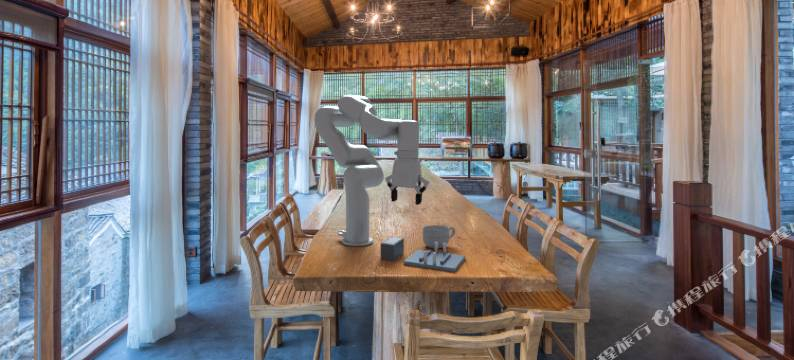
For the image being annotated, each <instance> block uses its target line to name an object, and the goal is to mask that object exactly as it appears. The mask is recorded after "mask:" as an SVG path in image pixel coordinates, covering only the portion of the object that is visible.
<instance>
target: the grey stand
mask: <svg viewBox="0 0 794 360" xmlns="http://www.w3.org/2000/svg"><path fill="white" fill-rule="evenodd" d="M465 260H466V255H464V254H463V255H462V254H456V253H454V254H453V253H451V252H447V245H446V243H443V248H442V252H440V251H439V248H438V242H435V248H434V251H433V250H429V249H427V250H426V249H417V250H416V251H415V252H413V253H412V254H411V255H409V256H408V257H406V259H405V260H404V261H403V265H404V264H407V265H406V266H411V265H413V267H418V266H420V267H419V268H425V267H427V268H426V269H431V268H433V270H438V269H440V271H445V270H446V271H445V272H454V273H455V272H456V271H457V270H458V269H459V268H460V266H461V265H462V263H463V262H464V261H465Z"/></svg>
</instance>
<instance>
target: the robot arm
mask: <svg viewBox="0 0 794 360" xmlns="http://www.w3.org/2000/svg"><path fill="white" fill-rule="evenodd" d="M313 118H314V119H313V120H314V126H315V129H316V132H317V134H318V135H319V137H320V139H322V141H323V142H324V144H325V145H326V147H327V149H328V150H329V152H330V153H331V156H332V157H333V159H334V160H335V162H336V164H337V165H338V166H339V167H340V168H344V169H345V170H344V172H343V175H342V178H343V186H344V191H345V230H341V229H339V230H338V231H337V236H338V237H342V239H341V242H342V244H343V245H345V246H350V247H365V246H369V245H372V244H373V243H374V239H373V238H372V237H370V197H369V196H370V195H369V193H368V191H367V190H366V189H368V188H376V187H378V186H380V185H382V184H383V182H384V178H385V182H386V186H387V187H388V188H389V190H390V192H391V193H390V199H391V202H393V203H394V202H397V201H398V188H406V189H414V190H415V191H416V194H415V200H414V201H415V202H414V203H415V205H416V206H418V205H421V204H422V201H423V193H424V192H426V190H427V189H428V186H429V185H430V181H429V180H427V179H426V178H425V177H422V165H421V160H420V159H419V146H420V145H419V144H420V123H419V121H417V120H413V119H412V120H411V119H410V120H408V119H407V120H405V119H404V120H402V119H393V118H380V117H378V116H377V110H376V108H375V106H373V105H372V101H371V100H370V99H369V98H368V97H366V96H363V95H354V94H346V95H343V96H341V97H340V98H339V100H338V101H337V106H330V105H329V106H328V105H327V106H322V107H320V108H318V109H316V112H315V114H314V117H313ZM357 123H358V124H359V126H360V128H361V131H363V133H365V134H366V135H368V136H370V137H372V138H373V139H375V140H378V141H397V149H396V150H395V151H394V155H395V156H396V158H394V162H393V165H392V172H391V175H390V174H389V175H388V176H387V177H384V176H385V174H384V171H383V169H382V167H381V165H380V164H379V162H378V161H377V158H376V157H375V155H374V153H373V152H372V150H371V149H369V148H368V147H367V145H364V144H352V143H350V142H349V140H348V139H347V137H346V136H345V135H344V133H343V132H342V131H340V130H339V129H338V128H349V127H352V126H354V125H355V124H357ZM422 183H423V185H422ZM421 185H422V186H421Z"/></svg>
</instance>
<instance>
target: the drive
mask: <svg viewBox="0 0 794 360" xmlns="http://www.w3.org/2000/svg"><path fill="white" fill-rule="evenodd" d="M404 245H405V238H403V237H394V236H391V237H389V238H388V239H386V240H384V241H383V242H381V243H380V260H381V261H388V262H395V261H396V260H398V259H399V258H400V257H402V254H403V253H404V250H405V249H404V248H405V246H404ZM403 255H404V254H403ZM398 257H399V258H398ZM394 260H395V261H394Z"/></svg>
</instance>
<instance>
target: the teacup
mask: <svg viewBox="0 0 794 360" xmlns="http://www.w3.org/2000/svg"><path fill="white" fill-rule="evenodd" d="M451 230H452V232H451V233H450V231H451ZM455 234H456V229H455V228H454V227H453V226H447V225H438V224H436V225H435V224H433V225H431V224H430V225H425V226H422V242H423V244H424V245H425V246H427V248H430V249H435V242H438V249H443V243H446V246H447V245H448V244H449V240H450V239H452V237H454V236H455Z"/></svg>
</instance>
